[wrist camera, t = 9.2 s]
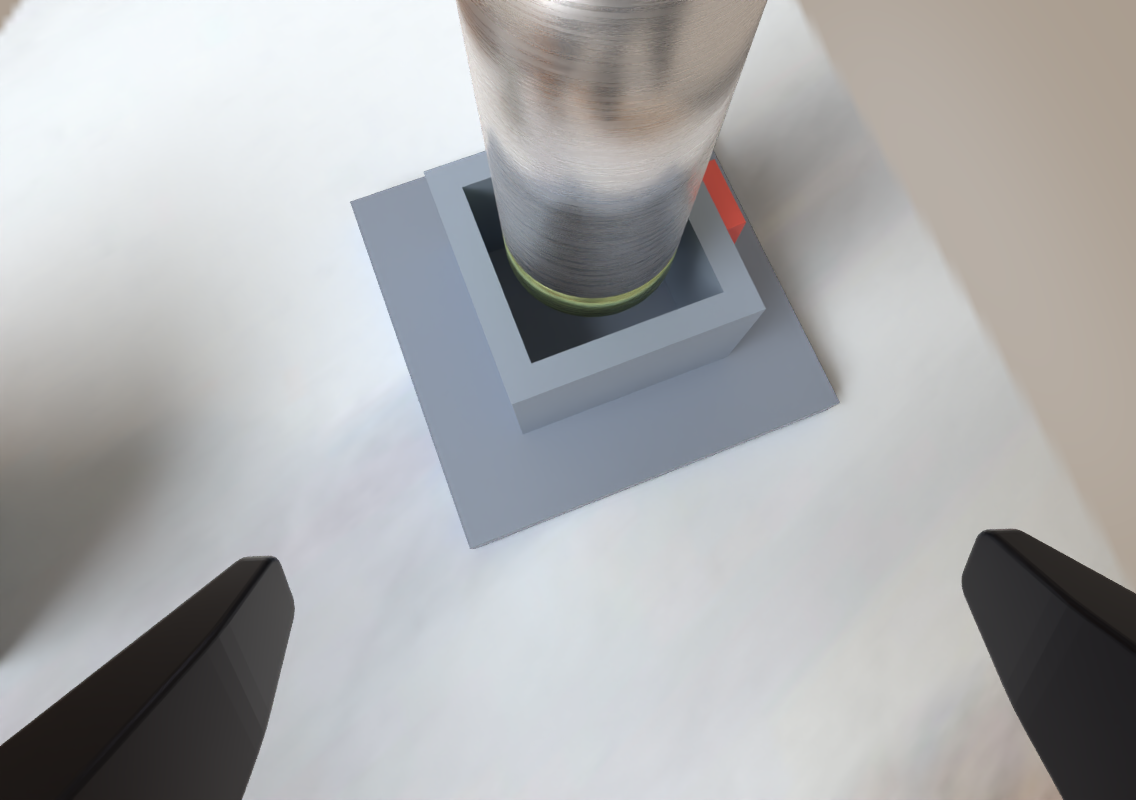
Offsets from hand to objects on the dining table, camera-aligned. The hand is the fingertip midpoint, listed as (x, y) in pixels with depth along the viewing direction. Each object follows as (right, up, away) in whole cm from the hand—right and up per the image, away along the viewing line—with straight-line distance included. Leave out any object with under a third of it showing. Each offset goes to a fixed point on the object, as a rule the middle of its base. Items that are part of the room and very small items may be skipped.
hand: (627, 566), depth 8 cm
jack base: (0, +5, +13) cm, 14 cm away
